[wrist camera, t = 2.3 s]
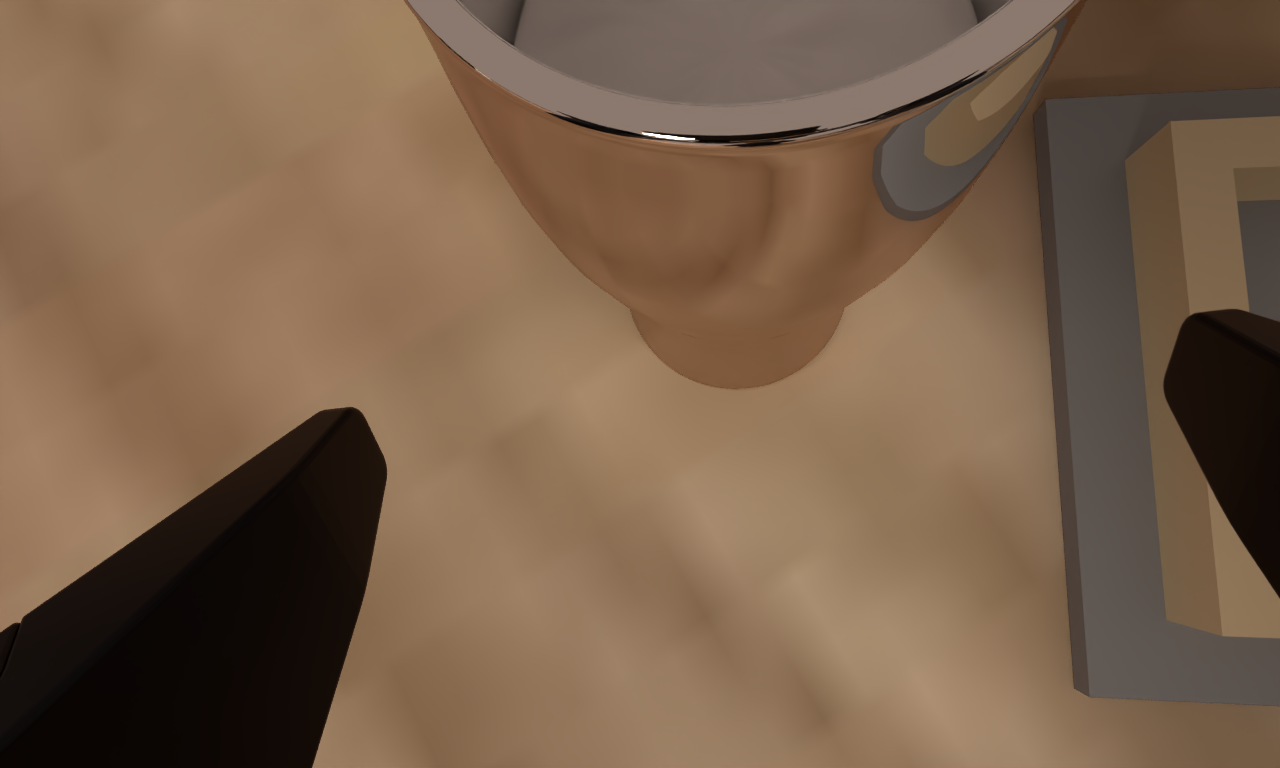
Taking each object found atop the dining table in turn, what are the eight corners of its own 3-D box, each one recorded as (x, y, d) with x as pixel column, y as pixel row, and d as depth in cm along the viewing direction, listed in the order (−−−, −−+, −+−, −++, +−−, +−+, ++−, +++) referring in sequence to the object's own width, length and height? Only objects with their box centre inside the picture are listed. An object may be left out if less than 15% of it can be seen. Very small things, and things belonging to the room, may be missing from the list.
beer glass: (805, 127, 21) (984, -758, 6) (904, 351, 20) (1433, -69, 5) (579, 218, 21) (230, -393, 6) (662, 442, 20) (462, 316, 5)
